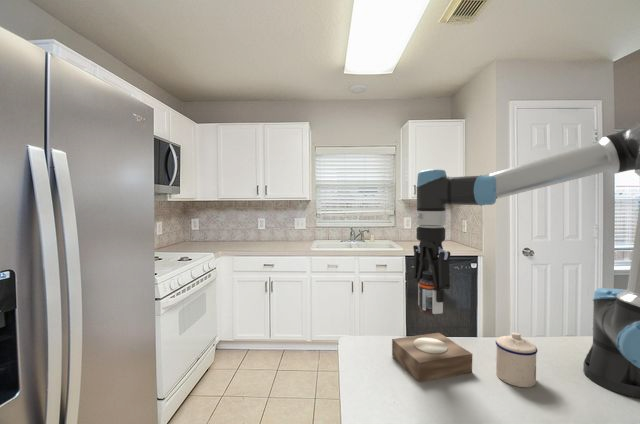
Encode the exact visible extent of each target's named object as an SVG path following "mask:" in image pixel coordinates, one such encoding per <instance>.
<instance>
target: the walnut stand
mask: <svg viewBox="0 0 640 424" xmlns="http://www.w3.org/2000/svg"><path fill="white" fill-rule="evenodd" d="M391 346H392V347H391V355H392V357H393V358H394V359H395V360H396V361H397V362H398V363H399V364H400V365H401V366H402V367H403V368H404V369H405V370H406V371H407V372H408V373H409V374H410V375H412V376H413V377H414V378H415V380H416V381H417V382H419V383H423V382H427V381H431V380H438V379H439V380H440V379H443V378H448V377H454V376H460V375H465V374H470V373H473V353H472V352H470V351H469V350H467V349H466V348H464V347H462V346H461V345H459V344H458V343H456V342H454V341H453V340H451V339H450V338H448V337H447V336H445V335H443V334H442V333H440V332H434V333H433V332H432V333H427V334H426V333H425V334H420V335H419V334H417V335H412V336H411V335H410V336H405V337H398V338H392V340H391Z"/></svg>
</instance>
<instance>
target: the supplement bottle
mask: <svg viewBox="0 0 640 424" xmlns="http://www.w3.org/2000/svg"><path fill="white" fill-rule="evenodd" d="M432 288H435V287H434V281H433V275H432V270H428V271H424V272H423V278H422V279H421V280H420V281H419V305H418V308H419V312H420V313H421V314H423V315H427V316H433V317H434V316H439V315H441V314H442V313H440V314H433V313H432V297H433V289H432Z"/></svg>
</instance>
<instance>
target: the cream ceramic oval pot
mask: <svg viewBox="0 0 640 424" xmlns="http://www.w3.org/2000/svg"><path fill="white" fill-rule="evenodd" d="M495 345H496V351H495V352H496V356H495V357H496V358H495V360H496V366H495V367H496V368H495V371H496V376H497V377H498V378H499V379H500V380H501V381H502V382H504V383H506V384H509V385H511V386H515V387H518V388H531V387H534V386H535V385H536V383H537V382H536V381H537V380H536V379H537V353H538V347H537V346H536V345H535V344H534V343H533V342H532V341H530V340H527V339H525V338H524V337H522V335H521V334H520V333H519V332H511V334H510V335H503V336H499V337H497V338H496V340H495Z"/></svg>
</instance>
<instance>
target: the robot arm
mask: <svg viewBox="0 0 640 424" xmlns="http://www.w3.org/2000/svg"><path fill="white" fill-rule="evenodd" d="M627 171H634V173H635V174H636V175H637V176H638V177H640V121H638V122H637V123H634V124H633V125H631V126H629V127H627V128H625V129H622V130H620V131H618V132H615V133H611V134H609V135H606V136H602V137H601V138H600V139H599V140H598V141H597V142H596V143H593V144H590V145H585V146H582V147H577V148H574V149H570V150H568V151H564V152H560V153H558V154H554V155H550V156H547V157H542V158H540V159H537V160H533V161H530V162H527V163H522V164H519V165H515V166H511V167H509V168H506V169H502V170H498V171H495V172H492V173H488V174H484V175H483V174H482V175H481V174H480V175H467V176H465V175H464V176H447V172H446V170H444V169H426V170H425V169H423V170H421V171H419V172H418V173H417V177H416V180H417V182H416V188H415V189H416V225H417V228H416V240H417V241H419V244H417V245H412V246H413V248H412V249H413V253H414V254H413V271H412V272H413V273H412V276H413V277H412V278H413V279H415V280H416V282H417V292H418V295H417V296H418V297H417V298H418V299H417V302H418V303H417V306H419V281H420V280H421V279H422V278H423V272H424V271H430V270H429V268H431V271H432V275H433V281H434V287H435V288H432V289H433V297H432V313H433V314H439V315H441V314H444V311H443V310H444V300H445V299H444V298H445V297H444V296H445V295H444V294H445V293H444V291H446V290H449V289H451V276H450V275H451V273H450V258H451V252H450V251H449V250H447V251H446V250H445V249H444V248H443V244H442V243H443V242H445V241H446V228H445V227H444V226H446V225H447V221H446V215H447V214H446V206H453V205H455V206H479V207H480V206H492V205H495V204H496V201H497V200H498V199H501V198H505V197H509V196H514V195H518V194H521V193H527V192H530V191H533V190H537V189H542V188H547V187H550V186H554V185H557V184H562V183H566V182H570V181H574V180H578V179H581V178H586V177H591V176H594V175H598V174H602V173H607V172H608V173H611V174H614V175H615V174H619V173H623V172H627ZM638 206H639V208H638V214H637V221H636V226H635V228H636V229H635V234H634V235H635V236H634V241H633V246H632V255H631V259H630V260H631V262H630V268H629V275H628V279H627V288H626V289H621V288H612V287H611V288H610V287H609V288H608V287H600V288H596V289H595V290H594V293H593V298H592V301H593V310H592V311H593V314H592V316H593V319H592V344H591V346H590V349H589V350H588V353H587V354H586V356H585V358H584V361H583V364H582V365H583V366H582V367H583V368H582V369H583V370H582V371H583V374H584V375H585V376H586V377H587V378H588V379H589V380H590V381H592V382H594V383H596V384H598V385H599V386H601V387H603V388H606V389H607V390H610V391H613V392H615V393H618V394H622V395H624V396H629V397H633V398H637V399H640V205H638ZM440 313H441V314H440Z"/></svg>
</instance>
